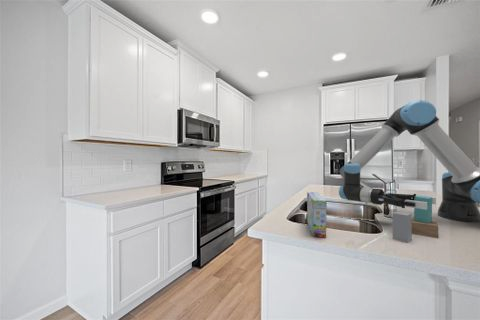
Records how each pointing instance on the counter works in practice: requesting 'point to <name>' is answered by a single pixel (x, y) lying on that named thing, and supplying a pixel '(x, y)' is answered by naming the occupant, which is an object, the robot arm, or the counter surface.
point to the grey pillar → (402, 226)
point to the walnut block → (425, 228)
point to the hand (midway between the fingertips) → (431, 203)
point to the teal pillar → (423, 210)
